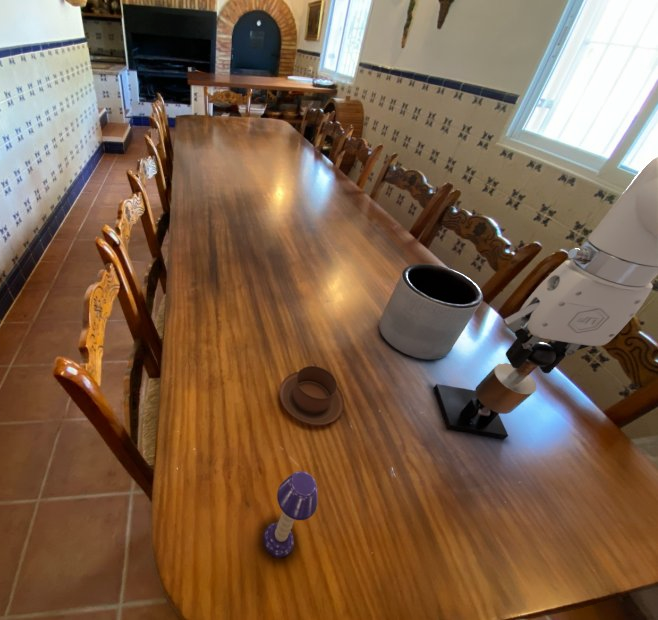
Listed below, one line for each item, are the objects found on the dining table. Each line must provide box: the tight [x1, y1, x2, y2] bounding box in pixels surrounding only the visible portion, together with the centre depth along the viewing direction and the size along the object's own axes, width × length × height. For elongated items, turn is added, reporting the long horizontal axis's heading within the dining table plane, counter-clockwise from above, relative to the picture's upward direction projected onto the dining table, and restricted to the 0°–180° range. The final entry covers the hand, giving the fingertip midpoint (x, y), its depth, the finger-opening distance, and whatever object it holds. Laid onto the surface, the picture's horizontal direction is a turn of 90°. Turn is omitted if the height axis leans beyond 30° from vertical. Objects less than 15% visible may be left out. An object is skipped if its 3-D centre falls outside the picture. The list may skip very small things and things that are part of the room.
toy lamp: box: [262, 470, 318, 559], centre depth 44 cm, size 5×5×17 cm
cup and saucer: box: [279, 362, 345, 427], centre depth 66 cm, size 12×12×6 cm
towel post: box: [474, 341, 556, 416], centre depth 58 cm, size 6×6×19 cm
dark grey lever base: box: [433, 383, 509, 441], centre depth 66 cm, size 10×10×7 cm
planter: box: [378, 263, 484, 360], centre depth 79 cm, size 16×16×16 cm
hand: (526, 363), depth 55 cm, fingers closed on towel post, 3 cm apart
